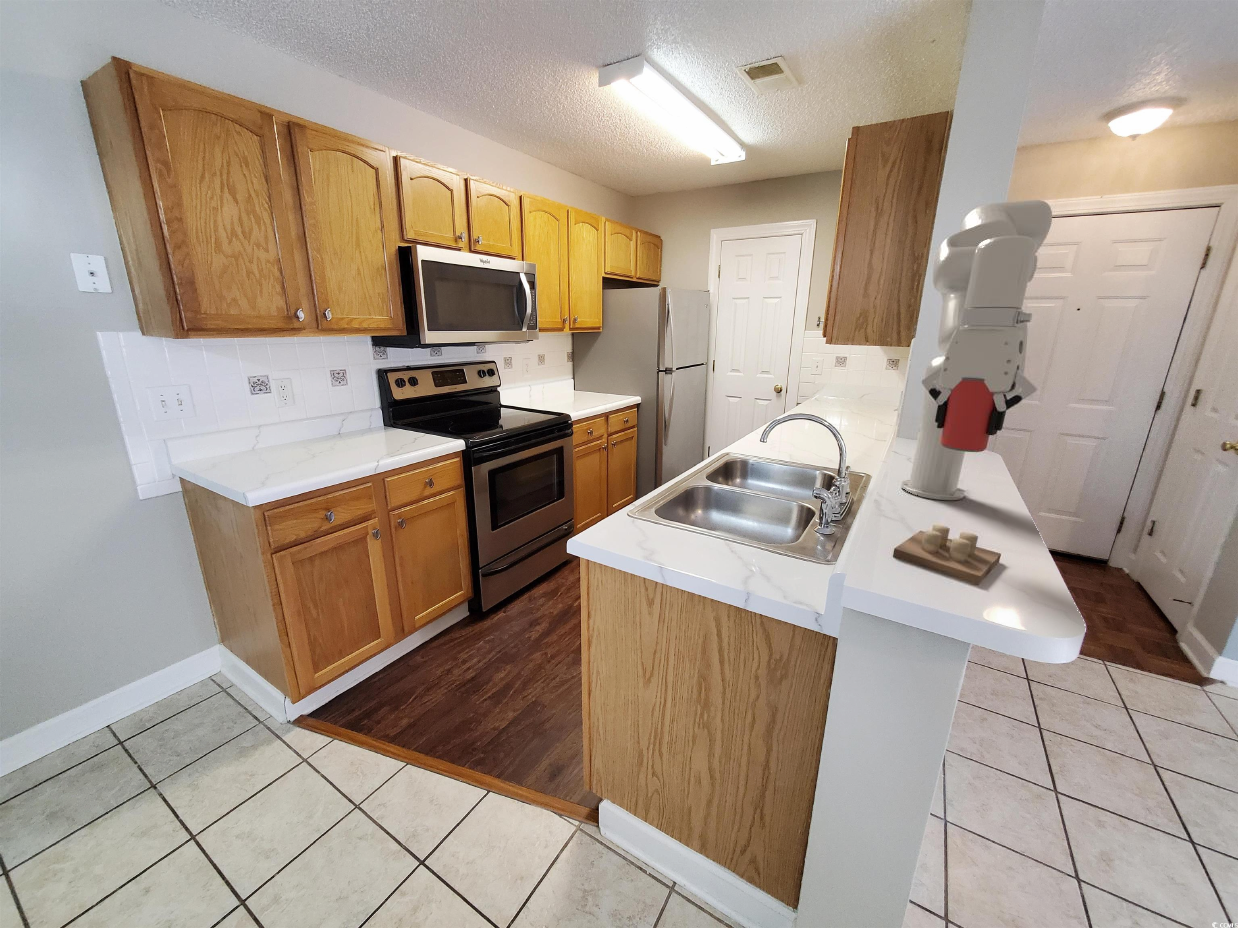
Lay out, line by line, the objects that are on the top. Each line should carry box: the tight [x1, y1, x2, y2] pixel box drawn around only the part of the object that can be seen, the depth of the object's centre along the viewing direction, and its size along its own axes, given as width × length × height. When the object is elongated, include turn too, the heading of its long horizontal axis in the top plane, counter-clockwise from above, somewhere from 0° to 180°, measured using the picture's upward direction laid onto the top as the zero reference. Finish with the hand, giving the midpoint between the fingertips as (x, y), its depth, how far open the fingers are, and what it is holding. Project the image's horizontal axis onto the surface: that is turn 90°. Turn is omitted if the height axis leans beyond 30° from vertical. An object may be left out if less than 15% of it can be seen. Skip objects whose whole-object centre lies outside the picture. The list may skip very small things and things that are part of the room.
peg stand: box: [892, 524, 1002, 586], centre depth 80 cm, size 12×12×4 cm
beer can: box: [940, 378, 996, 453], centre depth 82 cm, size 7×7×12 cm
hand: (966, 430), depth 82 cm, fingers closed on beer can, 6 cm apart
